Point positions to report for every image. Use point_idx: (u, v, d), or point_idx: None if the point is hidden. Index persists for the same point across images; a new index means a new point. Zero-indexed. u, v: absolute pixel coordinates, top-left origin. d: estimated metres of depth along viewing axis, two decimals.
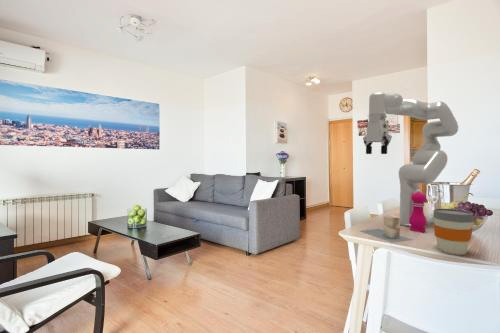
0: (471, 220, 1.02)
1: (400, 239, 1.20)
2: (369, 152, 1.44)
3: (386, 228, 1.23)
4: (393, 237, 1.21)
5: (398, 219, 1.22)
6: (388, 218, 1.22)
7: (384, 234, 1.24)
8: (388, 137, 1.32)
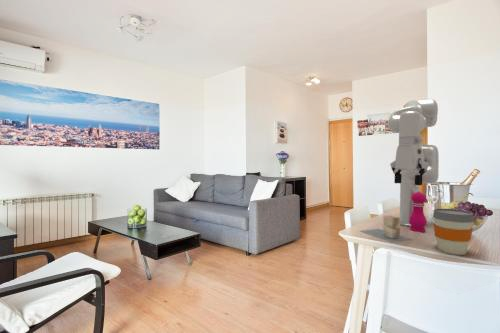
0: (471, 220, 1.02)
1: (400, 239, 1.20)
2: (398, 181, 1.20)
3: (386, 228, 1.23)
4: (393, 237, 1.21)
5: (398, 219, 1.22)
6: (388, 218, 1.22)
7: (384, 234, 1.24)
8: (424, 165, 1.08)
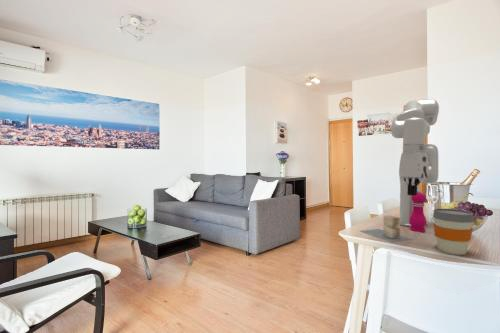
0: (471, 220, 1.02)
1: (400, 239, 1.20)
2: None
3: (386, 228, 1.23)
4: (393, 237, 1.21)
5: (398, 219, 1.22)
6: (388, 218, 1.22)
7: (384, 234, 1.24)
8: (421, 179, 1.09)
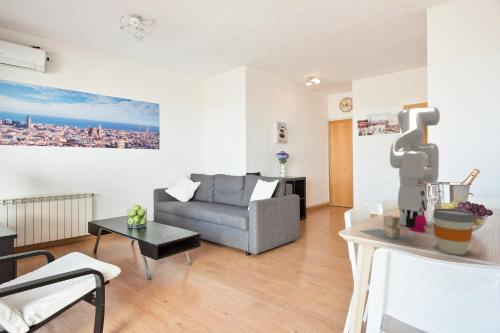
0: (471, 220, 1.02)
1: (400, 239, 1.20)
2: None
3: (386, 228, 1.23)
4: (393, 237, 1.21)
5: (398, 219, 1.22)
6: (388, 218, 1.22)
7: (384, 234, 1.24)
8: (419, 213, 1.10)
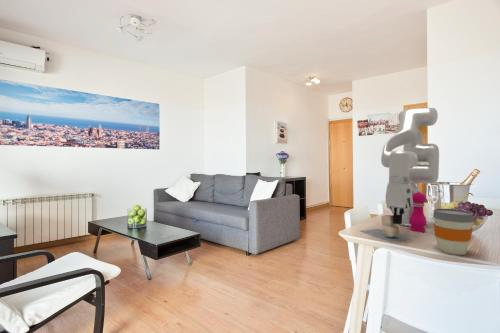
0: (471, 220, 1.02)
1: (400, 239, 1.20)
2: None
3: (385, 227, 1.24)
4: (393, 235, 1.21)
5: None
6: (386, 217, 1.24)
7: (384, 234, 1.24)
8: (405, 210, 1.16)
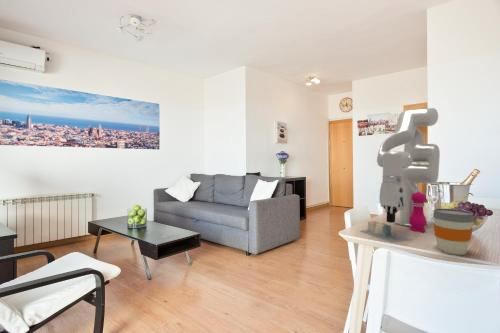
0: (471, 220, 1.02)
1: (400, 239, 1.20)
2: None
3: (376, 230, 1.29)
4: (384, 225, 1.26)
5: (375, 221, 1.34)
6: (369, 225, 1.33)
7: (381, 234, 1.26)
8: (398, 208, 1.19)
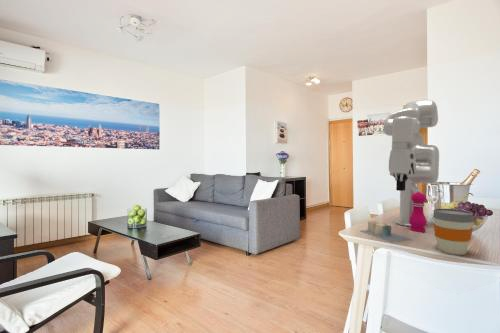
0: (471, 220, 1.02)
1: (400, 239, 1.20)
2: None
3: (376, 230, 1.29)
4: (384, 225, 1.26)
5: (375, 221, 1.34)
6: (369, 225, 1.33)
7: (381, 234, 1.26)
8: (409, 175, 1.15)
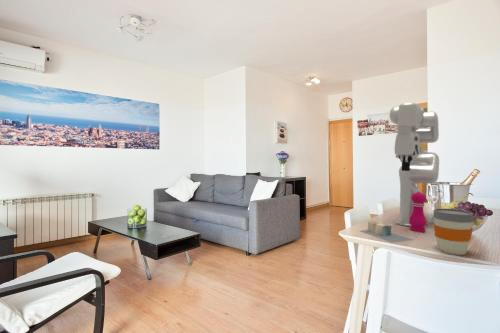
0: (471, 220, 1.02)
1: (400, 239, 1.20)
2: None
3: (376, 230, 1.29)
4: (384, 225, 1.26)
5: (375, 221, 1.34)
6: (369, 225, 1.33)
7: (381, 234, 1.26)
8: (413, 156, 1.26)
